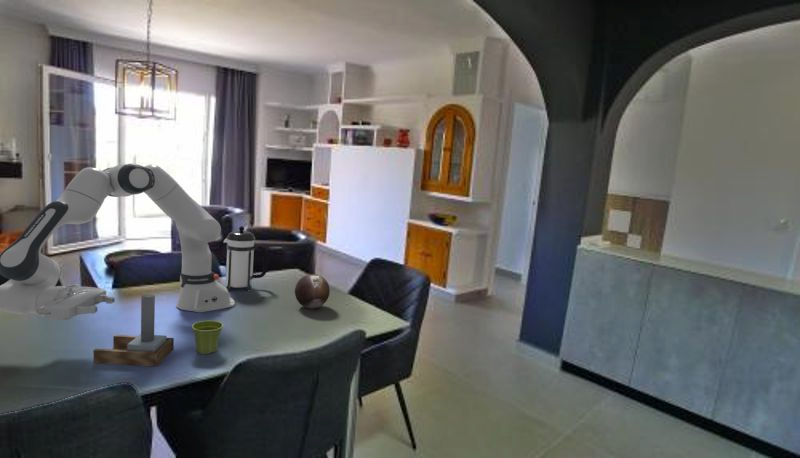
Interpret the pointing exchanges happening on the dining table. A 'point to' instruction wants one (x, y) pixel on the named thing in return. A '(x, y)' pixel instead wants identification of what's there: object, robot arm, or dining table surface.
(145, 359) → the bay
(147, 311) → the gray post
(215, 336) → the plant pot
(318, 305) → the brown ball
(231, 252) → the coffee press
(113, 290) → the dining table surface
